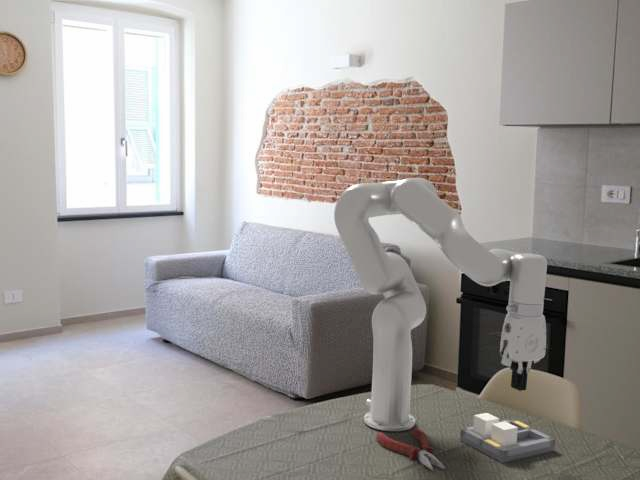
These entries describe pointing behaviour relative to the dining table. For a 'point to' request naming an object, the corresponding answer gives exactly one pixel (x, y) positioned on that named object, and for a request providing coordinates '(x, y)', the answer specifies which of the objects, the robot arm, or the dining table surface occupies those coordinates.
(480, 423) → the tab
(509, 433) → the tab
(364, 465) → the dining table surface
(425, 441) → the pliers
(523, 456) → the switch bank
